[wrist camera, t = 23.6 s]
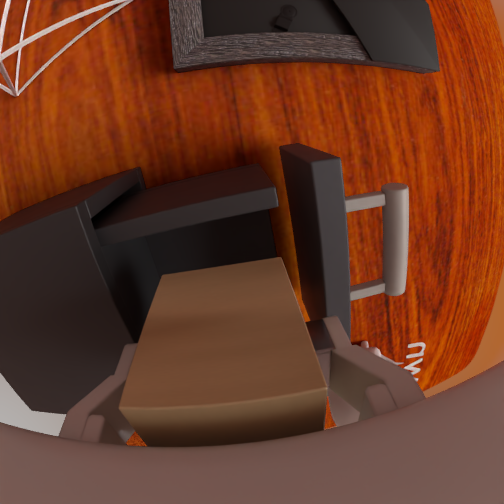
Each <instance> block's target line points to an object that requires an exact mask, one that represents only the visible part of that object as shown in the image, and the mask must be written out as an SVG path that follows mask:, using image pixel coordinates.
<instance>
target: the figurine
mask: <svg viewBox="0 0 504 504" xmlns="http://www.w3.org/2000/svg"><path fill="white" fill-rule="evenodd" d="M416 346H422V351H421V352H420V353H417V354H411V355H407V357H406V358H411V357H417V356H422V355H423V354H424V352H423V351H424V349H425V344H424V343H422V342H420V343H414V344H408V348H410V347H416ZM361 347H362V348H364V349H366V350H368V351H370V352H372V353H374V354H375V355H377V356H379V357H381V358H383V359H385V360H387V361H389V362H391V363H393V364H395V365H398V364H402V363H395V362H394V361H393V360H391V359H389V358H387V357H385V356H383V355H382V354H381V353H380V351H379V349H378V348H376V347H369V346H368V342H367V341H362V342H361ZM422 359H423V358H421V359H419V360H417V361H416V362H414V363H412V364H410V365H408V366H406V367H404V369H408V370H413V371H414V372H412V373H411V374H412V375H413V374H415V373H417V372H419V371H420V369H419V368H415V367H412V366H414V365H415V364H417V363H419V362H421V361H422ZM414 379H415V380H416V381H418V378H414ZM327 396H328V397H329V405H330V411H331V415H332V418H333V420H334V422H335V424H336V425H337V427H339V426H343V425H347V424H350V423H354V422H358V419H359V415H360V412H358V411H357V410H356V409H354V408H353V407H352V406H351V405H349V404H348V403H347V402H346V401H344V400H343V399H342V398H341V397H339V396H338V395H337V394H336V393H334V392H333V391H332V390H331V389H329V388H328V389H327Z"/></svg>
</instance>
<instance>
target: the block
mask: <svg viewBox="0 0 504 504" xmlns="http://www.w3.org/2000/svg"><path fill="white" fill-rule="evenodd" d="M327 389H328V387H327V384H326V381H325V378H324V375H323V372H322V369H321V366H320V364H319V361H318V358H317V355H316V352H315V349H314V346H313V343H312V341H311V338H310V335H309V332H308V329H307V326H306V323H305V321H304V318H303V315H302V312H301V309H300V307H299V304H298V301H297V298H296V296H295V293H294V290H293V287H292V285H291V282H290V279H289V276H288V274H287V271H286V268H285V266H284V263H283V260H282V258H281V257H277V258H271V259H264V260H258V261H251V262H245V263H238V264H232V265H225V266H219V267H212V268H206V269H199V270H192V271H186V272H179V273H172V274H166V275H162V277H161V279H160V282H159V285H158V287H157V290H156V293H155V296H154V298H153V301H152V304H151V307H150V309H149V312H148V315H147V318H146V321H145V324H144V327H143V330H142V332H141V335H140V338H139V341H138V344H137V348H136V351H135V354H134V357H133V360H132V363H131V366H130V370H129V373H128V376H127V379H126V383H125V386H124V390H123V393H122V397H121V400H120V404H119V410H120V411H121V413H122V414H123V415H124V417H125V418H126V419H127V421H128V422H129V423H130V425H131V426H132V427H133V428H134V430H135V431H136V432H137V433H138V435H139V436H140V437H141V438H142V440H143V441H144V442H145V443H146V445H147V446H148V447H200V446H219V445H232V444H242V443H251V442H260V441H267V440H274V439H280V438H286V437H292V436H298V435H303V434H308V433H313V432H317V431H322V430H324V426H325V415H326V403H327Z"/></svg>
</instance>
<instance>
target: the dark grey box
mask: <svg viewBox="0 0 504 504" xmlns="http://www.w3.org/2000/svg"><path fill="white" fill-rule="evenodd" d="M142 190H146V186H145V183H144V179H143V175H142V172H141V168H140V167H137V168H134V169H131V170H127V171H124V172H121V173H118V174H115V175H112V176H109V177H106V178H103V179H100V180H97V181H94V182H91V183H89V184H86V185H83V186H80V187H78V188H75V189H72V190H70V191H67V192H64V193H62V194H59V195H57V196H54V197H52V198H49V199H47V200H44V201H42V202H40V203H37V204H35V205H32V206H30V207H28V208H26V209H23V210H21V211H19V212H17V213H14V214H12V215H11V216H9V217H7V218H6V219H4V220H2V221H1V222H0V373H1V374H2V375H3V376H4V378H5V379H6V381H7V382H8V383H9V384H10V386H11V387H12V388H13V389H14V391H15V392H16V393H17V394H18V395H19V397H20V398H21V399H22V400H23V401H24V402H25V404H26V405H27V406H28V407H29V408H30V409H31V410H32V411H39V412H48V413H58V414H67V412H68V411H69V410H70V409H71V408H72V407H74V406H75V405H76V404H77V403H78V402H79V401H81V400H82V399H83V398H84V397H85V396H87V395H88V394H89V393H90V392H91V391H93V390H94V389H95V388H96V387H97V386H98V385H100V384H101V383H102V382H103V381H104V380H106V379H107V378H108V377H109V376H110V375H114V374H115V371H116V368H117V365H118V363H119V360H120V357H121V354H122V352H123V349H124V347H125V345H127V344H133V343H138V341H139V338H140V334H139V332H138V330H137V328H136V326H135V324H134V322H133V320H132V318H131V316H130V314H129V312H128V310H127V308H126V305H125V303H124V301H123V299H122V297H121V294H120V292H119V290H118V288H117V285H116V283H115V281H114V278H113V276H112V274H111V271H110V269H109V266H108V264H107V261H106V259H105V256H104V254H103V251H102V249H101V246H100V243H99V241H98V238H97V235H96V233H95V230H94V227H93V224H92V223H93V222H94V221H95V220H96V219H97V218H98V217H100V216H101V215H102V214H103V213H104V212H106V211H107V210H108V209H109V208H110V207H112V206H113V205H114V204H115V203H117V202H118V201H119V200H120V199H121V198H123V197H124V196H125V195H128V194H132V193H135V192H139V191H142Z"/></svg>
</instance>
